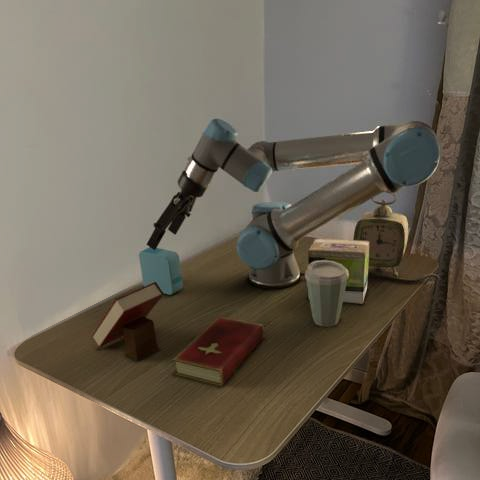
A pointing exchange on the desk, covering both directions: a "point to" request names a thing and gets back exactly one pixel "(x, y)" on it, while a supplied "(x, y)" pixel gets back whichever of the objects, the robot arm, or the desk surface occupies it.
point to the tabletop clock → (383, 235)
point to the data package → (161, 269)
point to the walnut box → (140, 338)
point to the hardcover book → (218, 350)
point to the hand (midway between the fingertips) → (161, 239)
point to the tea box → (345, 263)
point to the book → (126, 312)
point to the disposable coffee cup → (326, 290)
